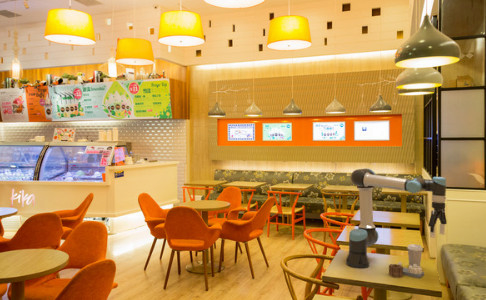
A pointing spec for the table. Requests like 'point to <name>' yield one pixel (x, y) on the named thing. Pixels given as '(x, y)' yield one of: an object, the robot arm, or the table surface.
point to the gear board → (413, 271)
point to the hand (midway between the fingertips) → (437, 235)
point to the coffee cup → (414, 254)
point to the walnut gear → (395, 270)
